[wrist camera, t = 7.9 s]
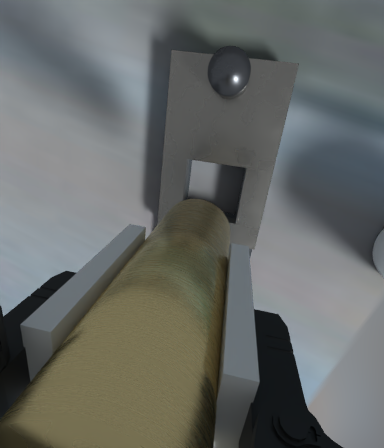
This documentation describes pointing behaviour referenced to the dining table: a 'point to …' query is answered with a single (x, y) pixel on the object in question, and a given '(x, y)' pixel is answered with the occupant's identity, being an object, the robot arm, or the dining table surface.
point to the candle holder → (379, 253)
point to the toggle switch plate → (225, 127)
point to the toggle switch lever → (139, 350)
